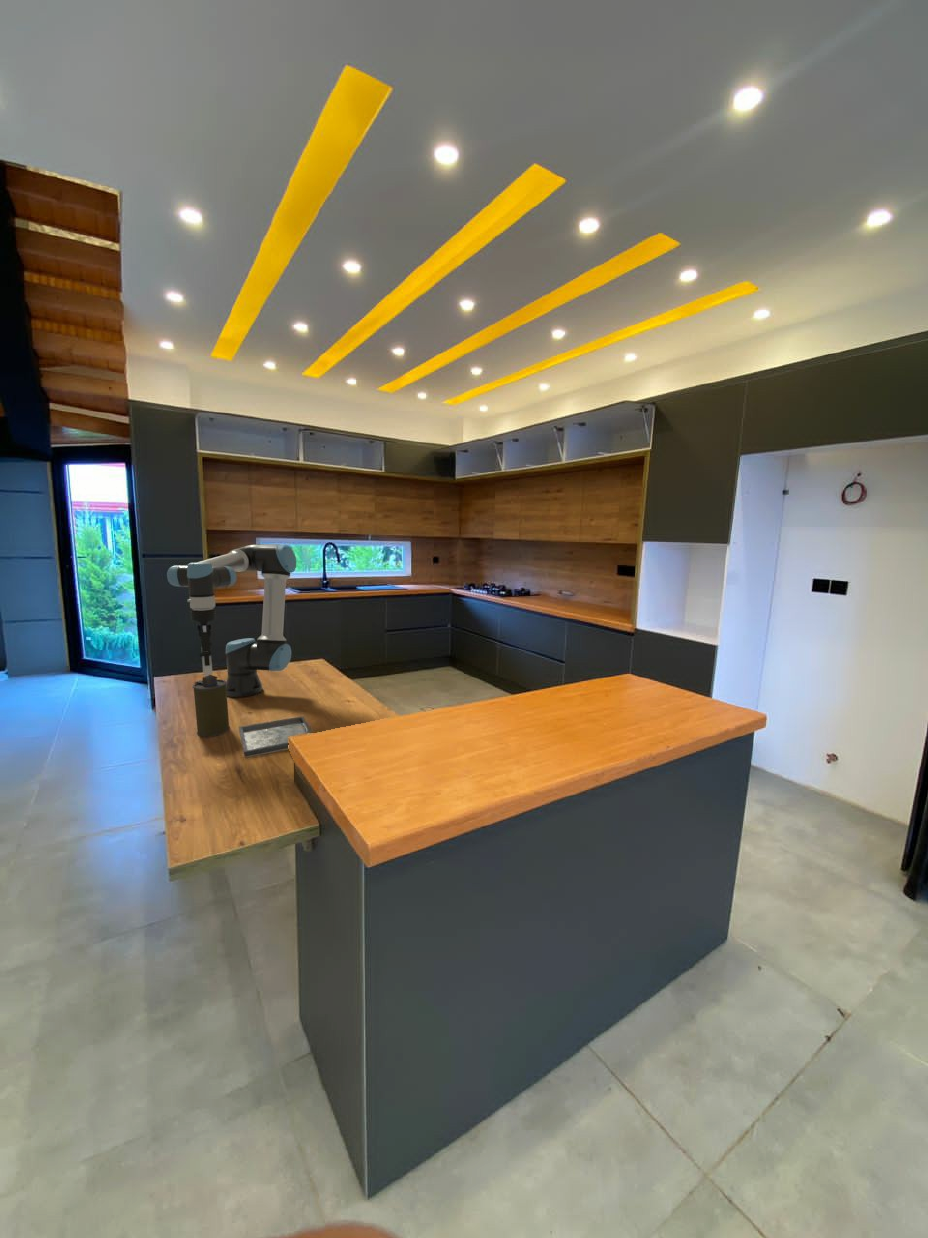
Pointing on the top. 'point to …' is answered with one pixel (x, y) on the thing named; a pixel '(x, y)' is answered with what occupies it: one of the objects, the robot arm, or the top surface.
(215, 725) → the canister
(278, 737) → the shallow grey tray
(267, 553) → the robot arm
